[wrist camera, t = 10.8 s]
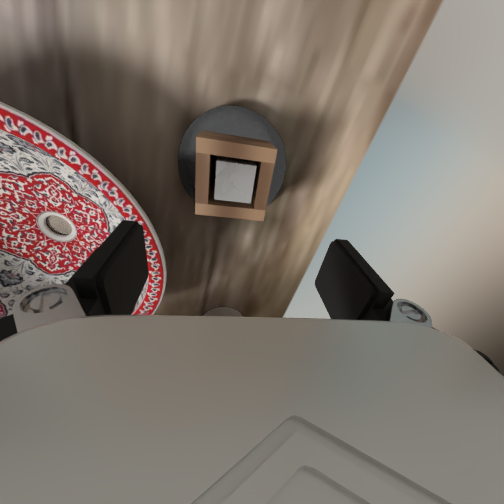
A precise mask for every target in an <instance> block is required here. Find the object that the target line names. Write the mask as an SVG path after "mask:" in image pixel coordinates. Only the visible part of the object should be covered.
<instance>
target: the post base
mask: <svg viewBox="0 0 504 504" xmlns="http://www.w3.org/2000/svg"><path fill="white" fill-rule="evenodd" d="M201 130H203V131H210V132H216V133H222V134H228V135H235V136H241V137H247V138H253V139H260V140H266V141H269V142H270V143H271V144H272V145H274V146H275V147H276V148H277V149H278V150H277V155H276V160H275V165H274V170H273V175H272V180H271V185H270V190H269V195H268V200H267V205H269V204H270V202H271V201H272V200H273V199H274V198H275V197H276V195H277V194H278V192H279V190H280V188H281V186H282V183H283V180H284V177H285V171H286V156H285V151H284V147H283V144H282V141H281V139H280V137H279V135H278V133H277V132H276V130H275V129H274V127H273V126H272V125H271V124H270V123H269V122H268V121H267V120H266V119H265V118H264V117H263V116H261V115H259V114H258V113H256V112H254V111H252V110H250V109H247V108H244V107H240V106H232V105H231V106H221V107H216V108H214V109H211V110H209V111H207V112H205V113H204V114H202V115H200V116H199V117H198V118H197V119H196V120H195V121H194V122H193V123H192V124H191V125H190V126H189V128H188V129H187V131H186V132H185V134H184V136H183V138H182V141H181V144H180V147H179V153H178V168H179V173H180V178H181V180H182V183H183V185H184V187H185V189H186V191H187V193H188V194H189V196H190V197H191V198H192V199H193V200H194V201H195V181H196V136H197V135H198V134H199V133H200V132H201ZM256 167H257V166H256V164H255V161H253V160H246V159H239V158H232V157H225V156H218V155H212V174H211V188H215V194H214V199H215V200H224V201H233V202H242V203H251V198H252V192H253V186H254V180H255V173H256ZM267 205H266V206H267ZM225 218H227V217H225Z"/></svg>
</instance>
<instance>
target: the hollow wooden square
mask: <svg viewBox="0 0 504 504" xmlns="http://www.w3.org/2000/svg"><path fill="white" fill-rule="evenodd" d="M277 150H278V149H277V148H276V147H275V146H274V145H272V144H271V143H270V142H269V141H266V140H260V139H253V138H247V137H241V136H235V135H228V134H222V133H216V132H210V131H203V130H201V132H200V133H199V134H198V135H197V136H196V181H195V214H197V215H207V216H217V217H227V218H237V219H247V220H257V221H263V220H264V215H265V210H266V205H267V200H268V195H269V190H270V185H271V180H272V175H273V170H274V165H275V160H276V155H277ZM212 155H218V156H225V157H232V158H239V159H246V160H253V161H255V164H256V166H257V167H256V173H255V180H254V186H253V192H252V198H251V203H242V202H233V201H224V200H215V199H214V194H215V188H211V174H212Z"/></svg>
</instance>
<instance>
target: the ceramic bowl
mask: <svg viewBox="0 0 504 504" xmlns="http://www.w3.org/2000/svg"><path fill="white" fill-rule="evenodd" d="M50 215H56V216H60V217H62V218H64V219H65V220H67V221H68V222H69V223H70V225H71V227H72V232H71V233H70V234H69V235H59V234H56V233H54V232H53V231H51V230H50V229H49V228H48V226H47V224H46V218H47V217H48V216H50ZM122 220H130V221H137V222H138V223H139V224H140V225H142V226H143V231H144V239H145V246H146V254H147V262H148V270H149V274H148V278H147V281H146V283H145V285H144V287H143V290H142V292H141V294H140V296H139V299H138V301H137V303H136V305H135V308H134V310H133V312H132V314H131V315H153V314H154V312H155V311H156V310H157V308H158V307H159V305H160V303H161V300H162V298H163V295H164V292H165V287H166V278H167V271H166V261H165V257H164V252H163V249H162V246H161V243H160V240H159V237H158V235H157V233H156V231H155V229H154V227H153V225H152V223H151V222H150V220H149V218H148V217H147V215H146V213H145V212H144V210H143V209H142V208H141V206H140V205H139V204H138V202H137V201H136V199H135V198H134V197H133V196H132V195H131V194H130V192H129V191H128V190H127V189H126V188H125V187H124V185H123V184H122V183H121V182H120V181H119V180H118V179H117V178H116V177H115V176H114V175H113V174H112V173H111V172H110V171H109V170H107V169H106V168H105V167H104V166H103V165H102V164H101V163H99V162H98V161H97V160H96V159H95V158H94V157H92V156H91V155H90V154H89V153H87V152H86V151H85V150H83V149H82V148H81V147H79V146H78V145H77V144H75V143H74V142H72V141H71V140H69V139H68V138H66V137H65V136H63V135H62V134H60V133H59V132H57V131H56V130H54V129H53V128H51V127H49V126H47V125H46V124H44V123H42V122H40V121H39V120H37V119H35V118H33V117H31V116H30V115H28V114H26V113H24V112H21V111H19V110H17V109H15V108H13V107H11V106H9V105H7V104H5V103H2V102H0V319H1V318H3V317H6V316H8V315H11V314H13V311H12V309H13V304H14V303H15V301H16V300H17V299H18V298H19V297H20V296H22V295H23V294H25V293H26V292H28V291H30V290H32V289H35V288H37V287H40V286H44V285H48V284H65V283H66V282H67V281H68V280H69V279H70V278H71V277H72V276H73V274H74V273H75V272H76V271H77V270H78V269H79V268H80V267H81V265H82V264H83V263H84V262H85V261H86V260H87V259H88V257H89V256H90V255H91V254H92V253H93V252H94V251H95V250H96V249H97V248H98V247H99V246H100V245H101V244H102V243H103V242H104V241H105V240H106V238H107V237H108V236H109V235H110V234H111V233H112V232H113V230H114V229H115V228H116V227H117V226H118V225H119V224H120V222H121V221H122Z"/></svg>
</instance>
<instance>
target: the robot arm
mask: <svg viewBox="0 0 504 504" xmlns="http://www.w3.org/2000/svg"><path fill="white" fill-rule="evenodd" d="M148 274H149V270H148V262H147V254H146V246H145V239H144V231H143V226H142V225H140V224H139V223H138V222H137V221H130V220H122V221H121V222H120V224H119V225H118V226H117V227H116V228H115V229H114V230H113V232H112V233H111V234H110V235H109V236H108V237H107V238H106V240H105V241H104V242H103V243H102V244H101V245H100V246H99V247H98V248H97V249H96V250H95V251H94V252H93V253H92V254H91V255H90V256H89V257H88V259H87V260H86V261H85V262H84V263H83V264H82V265H81V267H80V268H79V269H78V270H77V271H76V272H75V273H74V274H73V276H72V277H71V278H70V279H69V280H68V281H67V282H66V283H65V284H48V285H44V286H40V287H37V288H35V289H32V290H30V291H28V292H26V293H25V294H23V295H22V296H20V297H19V298H18V299H17V300H16V301H15V303H14V304H13V309H12V311H13V314H11V315H8V316H6V317H3V318H1V319H0V504H504V377H503V376H502V375H501V374H500V371H499V370H498V368H497V367H496V366H495V365H494V364H493V362H492V361H491V360H490V359H489V358H488V357H487V356H486V355H484V354H483V353H481V352H479V351H477V350H474V349H473V348H471V347H470V346H469V345H467V344H466V343H465V342H463V341H462V340H460V339H458V338H456V337H453V336H452V335H449V334H447V333H445V332H442V331H439V330H437V329H435V328H433V327H432V320H431V317H430V316H429V314H428V313H427V312H426V311H425V310H424V309H423V308H421V307H420V306H418V305H416V304H415V303H413V302H411V301H408V300H405V299H396V300H394V302H393V301H392V299H391V297H392V296H393V294H394V292H393V291H392V290H391V289H390V288H389V287H388V286H387V284H386V283H385V282H384V281H383V280H382V279H381V278H380V277H379V275H378V274H377V273H376V272H375V271H374V270H373V269H372V267H371V266H370V265H369V264H368V263H367V262H366V261H365V259H364V258H363V257H362V256H361V255H360V254H359V253H358V251H357V250H356V249H355V248H354V247H353V246H352V245H351V244H350V242H349V241H347V240H340V239H336V240H335V241H334V242H331V244H330V246H329V248H328V251H327V253H326V256H325V258H324V261H323V263H322V265H321V268H320V270H319V273H318V275H317V278H316V280H315V286H316V288H317V291H318V293H319V294H320V297H321V298H322V301H323V303H324V305H325V307H326V309H327V311H328V313H329V315H330V317H331V319H311V318H274V317H234V316H188V315H131V314H132V312H133V310H134V308H135V305H136V303H137V301H138V299H139V296H140V294H141V292H142V290H143V287H144V285H145V283H146V281H147V278H148Z"/></svg>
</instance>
